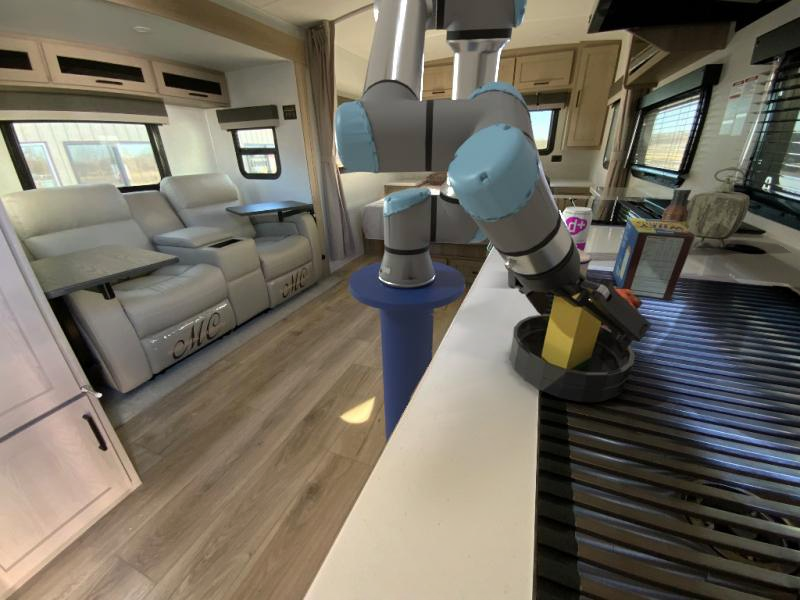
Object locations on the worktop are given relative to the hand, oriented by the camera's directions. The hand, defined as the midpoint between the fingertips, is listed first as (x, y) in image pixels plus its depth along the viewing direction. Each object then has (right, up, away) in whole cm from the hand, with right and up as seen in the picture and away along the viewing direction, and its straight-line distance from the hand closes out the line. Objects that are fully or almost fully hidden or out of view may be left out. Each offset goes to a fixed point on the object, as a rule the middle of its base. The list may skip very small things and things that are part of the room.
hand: (581, 324), depth 53 cm
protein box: (+32, +7, +32) cm, 46 cm away
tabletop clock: (+74, +22, +61) cm, 98 cm away
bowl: (-2, -7, +2) cm, 8 cm away
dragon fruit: (+13, -1, +14) cm, 20 cm away
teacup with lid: (+11, +6, +29) cm, 32 cm away
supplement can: (+25, +18, +53) cm, 61 cm away
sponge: (-2, -7, +2) cm, 7 cm away
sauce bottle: (+57, +19, +55) cm, 82 cm away
